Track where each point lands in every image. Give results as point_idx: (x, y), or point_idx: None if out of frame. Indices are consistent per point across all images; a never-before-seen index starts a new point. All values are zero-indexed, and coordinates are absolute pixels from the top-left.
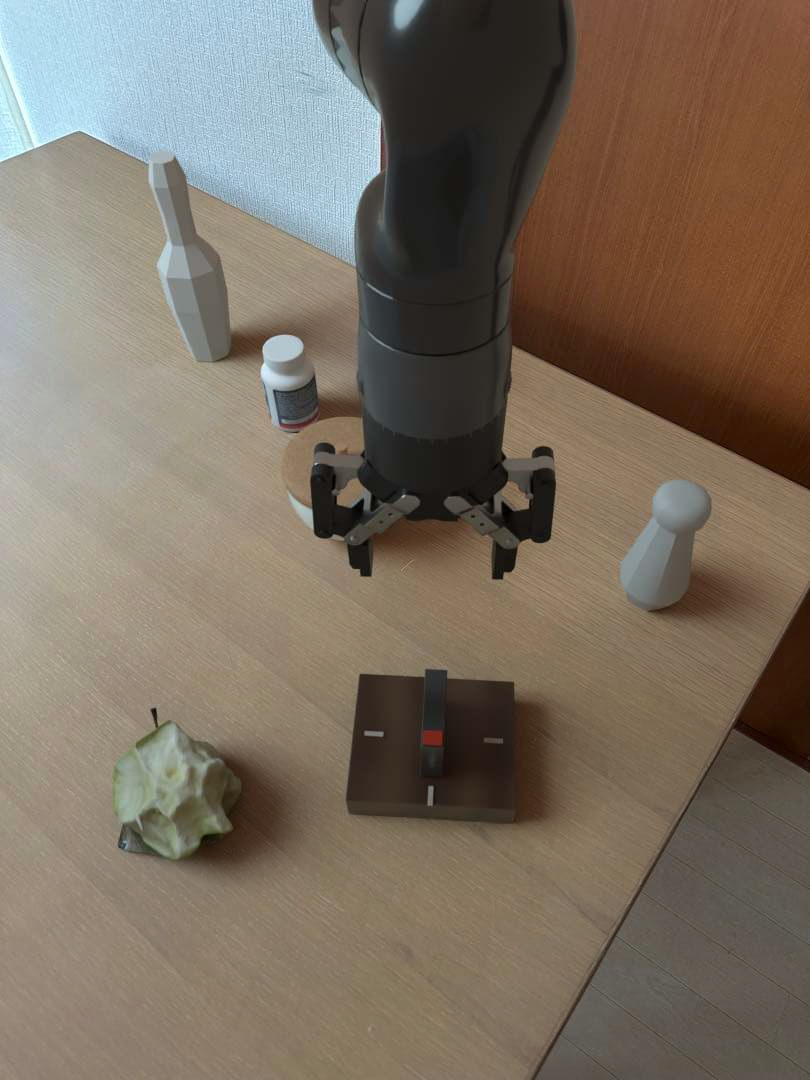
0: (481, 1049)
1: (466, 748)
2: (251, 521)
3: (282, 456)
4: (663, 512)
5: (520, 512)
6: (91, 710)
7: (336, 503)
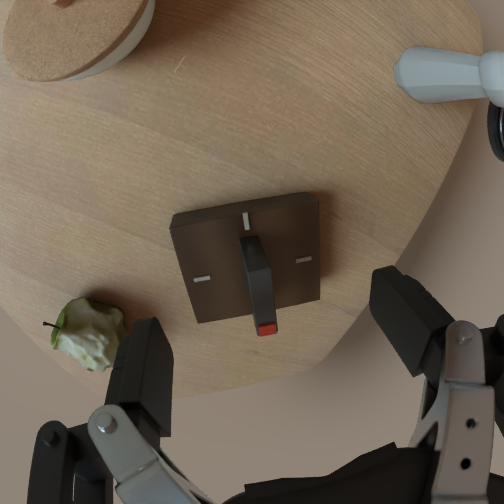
0: (295, 368)
1: (282, 270)
2: (22, 79)
3: (3, 38)
4: (499, 92)
5: (486, 363)
6: (14, 279)
7: (74, 459)
